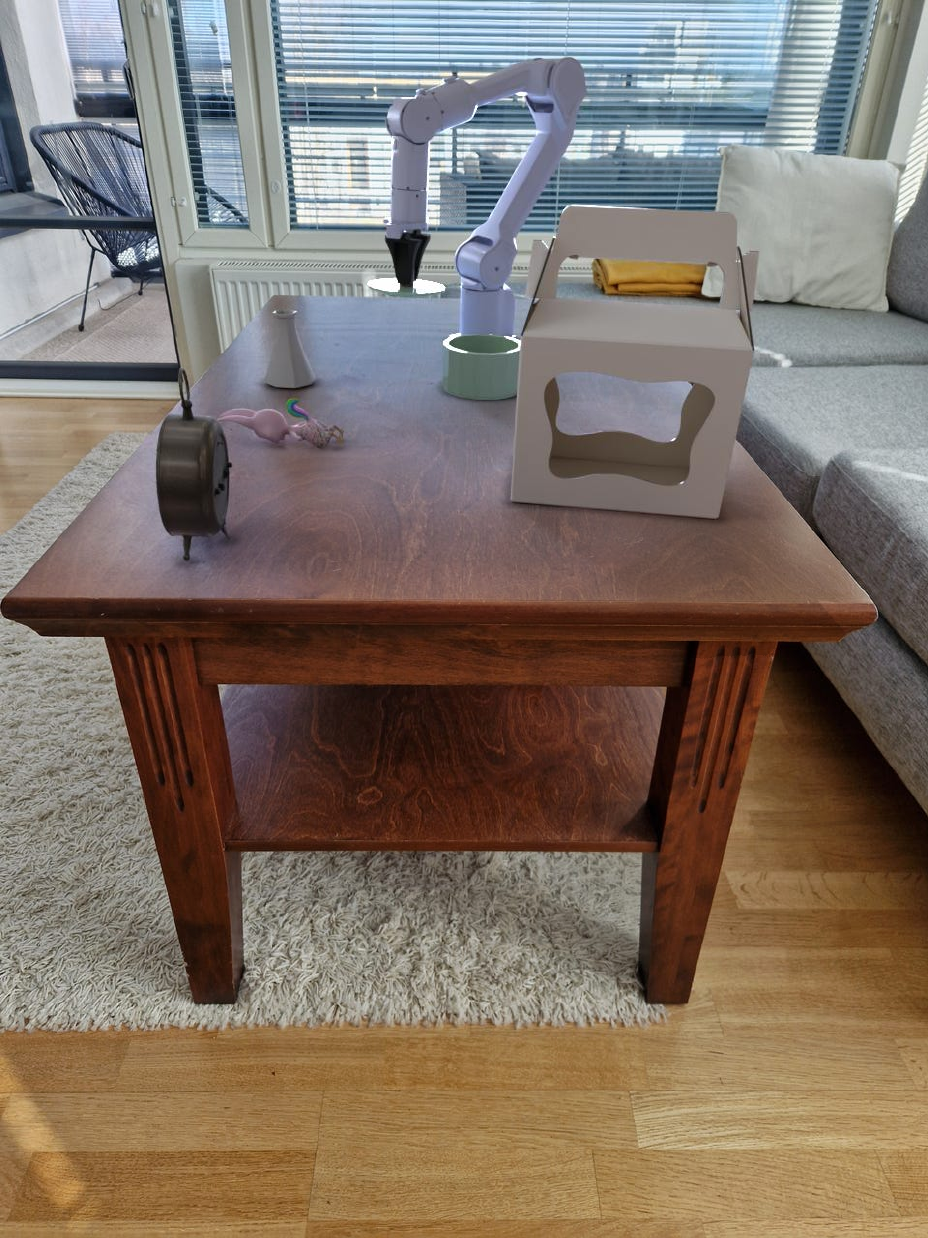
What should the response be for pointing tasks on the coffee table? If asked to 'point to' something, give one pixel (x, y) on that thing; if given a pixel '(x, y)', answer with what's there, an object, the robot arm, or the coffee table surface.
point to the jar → (481, 366)
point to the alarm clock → (192, 473)
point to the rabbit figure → (284, 425)
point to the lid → (406, 288)
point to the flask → (288, 355)
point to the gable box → (634, 366)
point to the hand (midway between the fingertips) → (406, 282)
